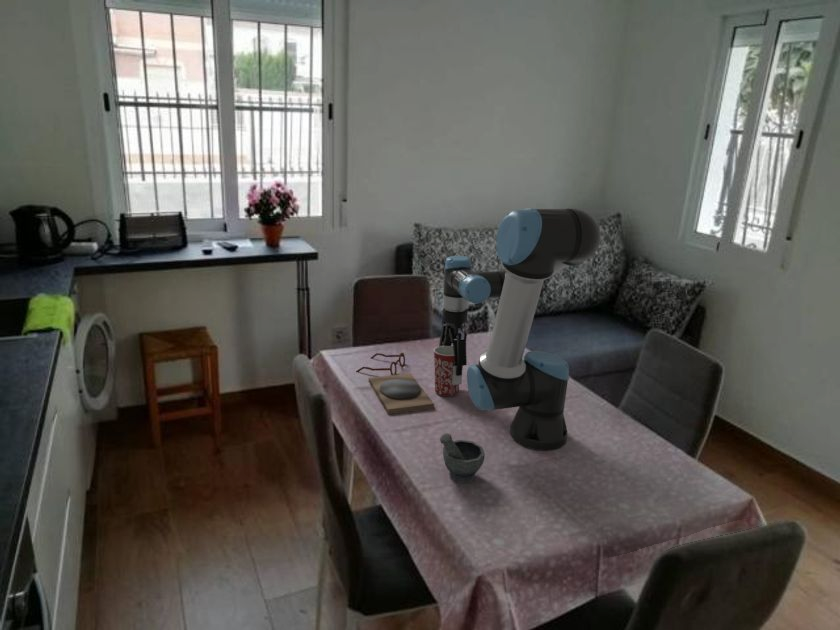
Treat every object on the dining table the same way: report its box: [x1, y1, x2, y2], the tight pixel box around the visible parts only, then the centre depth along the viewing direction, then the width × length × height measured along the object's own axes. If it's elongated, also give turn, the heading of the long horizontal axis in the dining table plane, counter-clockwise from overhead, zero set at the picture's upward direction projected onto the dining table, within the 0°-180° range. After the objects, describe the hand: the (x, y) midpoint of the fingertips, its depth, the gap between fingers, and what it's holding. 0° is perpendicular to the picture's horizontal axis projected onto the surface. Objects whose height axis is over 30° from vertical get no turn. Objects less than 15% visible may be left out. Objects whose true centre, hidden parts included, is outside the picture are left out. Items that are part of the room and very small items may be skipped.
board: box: [368, 372, 435, 415], centre depth 183 cm, size 22×14×2 cm, turn 19°
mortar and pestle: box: [439, 433, 486, 484], centre depth 142 cm, size 11×9×12 cm
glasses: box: [356, 352, 406, 375], centre depth 202 cm, size 13×13×5 cm
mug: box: [433, 345, 460, 397], centre depth 186 cm, size 13×9×14 cm
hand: (450, 377), depth 186 cm, fingers closed on mug, 9 cm apart
